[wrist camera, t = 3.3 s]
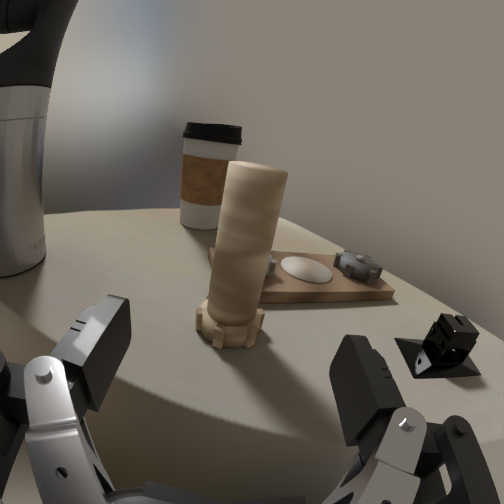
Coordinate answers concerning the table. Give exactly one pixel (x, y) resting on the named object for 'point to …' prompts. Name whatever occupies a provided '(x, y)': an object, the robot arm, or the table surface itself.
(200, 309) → the spindle gear
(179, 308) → the table surface
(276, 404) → the table surface
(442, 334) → the black block stand
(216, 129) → the coffee cup
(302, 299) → the gear board
